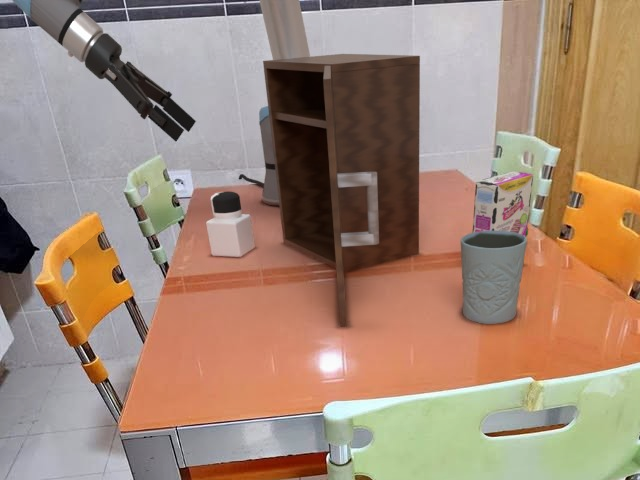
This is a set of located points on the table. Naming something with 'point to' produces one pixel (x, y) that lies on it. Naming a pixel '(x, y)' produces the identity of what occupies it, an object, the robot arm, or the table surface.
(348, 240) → the cupboard door
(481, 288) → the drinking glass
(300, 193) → the cupboard
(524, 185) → the food carton
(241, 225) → the medicine bottle
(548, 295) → the table surface
